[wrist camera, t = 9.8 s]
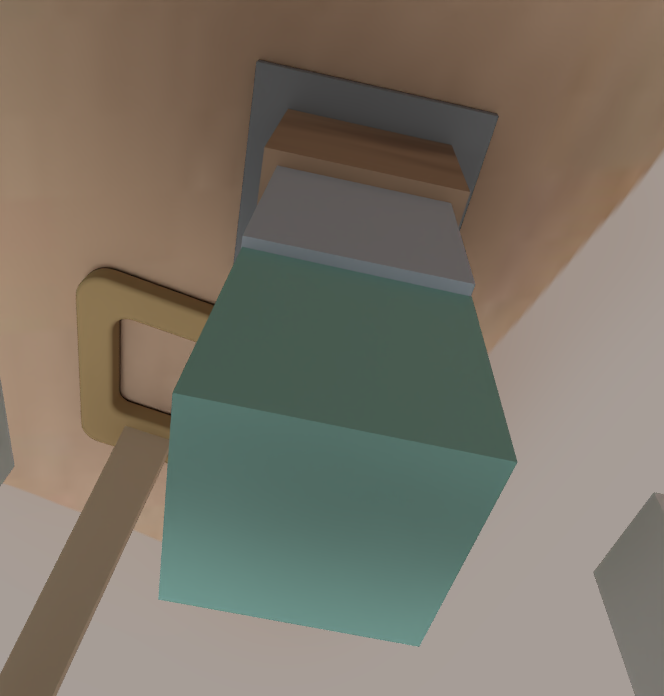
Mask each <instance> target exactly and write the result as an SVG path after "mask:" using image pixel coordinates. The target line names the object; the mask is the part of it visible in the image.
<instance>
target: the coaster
mask: <svg viewBox="0 0 664 696" xmlns="http://www.w3.org/2000/svg"><path fill="white" fill-rule="evenodd" d="M287 109H291V110H296V111H300V112H305V113H309V114H314V115H318V116H323V117H327V118H332V119H336V120H341V121H345V122H350V123H354V124H359V125H363V126H368V127H372V128H377V129H381V130H386V131H390V132H395V133H399V134H404V135H408V136H413V137H417V138H422V139H426V140H431V141H435V142H440V143H444V144H449V145H452V147H453V150H454V152H455V155H456V157H457V160H458V162H459V165H460V168H461V170H462V173H463V175H464V178H465V180H466V183H467V185H468V188H469V190H470V194H469V197H468V200H467V203H466V206H465V209H464V212H463V215H462V218H461V221H460V224H459V227H458V228H459V231H460V229H461V226H462V223H463V220H464V217H465V214H466V211H467V208H468V205H469V202H470V199H471V196H472V193H473V190H474V187H475V184H476V181H477V179H478V176H479V173H480V170H481V167H482V164H483V161H484V158H485V155H486V152H487V149H488V146H489V143H490V140H491V137H492V134H493V131H494V129H495V126H496V123H497V120H498V117H499V116H498V115H497V114H496V113H492V112H487V111H483V110H478V109H474V108H470V107H465V106H461V105H456V104H452V103H448V102H443V101H439V100H434V99H430V98H426V97H421V96H417V95H412V94H408V93H404V92H399V91H395V90H390V89H386V88H381V87H377V86H373V85H368V84H364V83H359V82H355V81H351V80H346V79H342V78H337V77H333V76H329V75H324V74H320V73H315V72H311V71H307V70H302V69H298V68H293V67H289V66H285V65H280V64H276V63H271V62H267V61H263V60H258V61H257V63H256V72H255V80H254V89H253V98H252V107H251V115H250V124H249V133H248V142H247V150H246V159H245V168H244V177H243V186H242V194H241V203H240V212H239V221H238V229H237V238H236V247H235V256H234V263H235V261H236V259H237V256H238V254H239V252H240V250H241V244H242V236H243V234H244V232H245V229H246V227H247V225H248V223H249V221H250V219H251V217H252V215H253V213H254V211H255V209H256V207H257V200H258V193H259V185H260V177H261V170H262V162H263V154H264V147H265V145H266V144H267V142H268V140H269V139H270V137H271V136H272V134H273V132H274V131H275V129H276V127H277V126H278V124H279V122H280V121H281V119H282V118H283V116H284V114H285V113H286V111H287Z"/></svg>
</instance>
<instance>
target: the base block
mask: <svg viewBox="0 0 664 696" xmlns="http://www.w3.org/2000/svg"><path fill="white" fill-rule="evenodd" d="M277 166H282V167H287V168H291V169H296V170H301V171H305V172H310V173H314V174H319V175H324V176H328V177H333V178H337V179H342V180H347V181H351V182H356V183H361V184H365V185H370V186H374V187H379V188H384V189H388V190H393V191H398V192H402V193H407V194H411V195H416V196H421V197H425V198H430V199H434V200H439V201H444V202H448V203H451V204H452V208H453V211H454V214H455V218H456V221H457V224H458V227H459V224H460V221H461V218H462V215H463V212H464V209H465V206H466V203H467V200H468V197H469V194H470V190H469V188H468V185H467V183H466V180H465V178H464V175H463V173H462V170H461V168H460V165H459V162H458V160H457V157H456V155H455V152H454V150H453V147H452V145H449V144H444V143H440V142H435V141H431V140H426V139H422V138H417V137H413V136H408V135H404V134H399V133H395V132H390V131H386V130H381V129H377V128H372V127H368V126H363V125H359V124H354V123H350V122H345V121H341V120H336V119H332V118H327V117H323V116H318V115H314V114H309V113H305V112H300V111H296V110H291V109H287V111H286V113H285V114H284V116H283V118H282V119H281V121H280V122H279V124H278V126H277V127H276V129H275V131H274V132H273V134H272V136H271V137H270V139H269V140H268V142H267V144H266V145H265V147H264V154H263V162H262V170H261V177H260V185H259V193H258V200H257V205H258V203H259V201H260V199H261V197H262V195H263V193H264V191H265V189H266V187H267V185H268V183H269V181H270V179H271V177H272V175H273V173H274V171H275V169H276V167H277Z"/></svg>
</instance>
